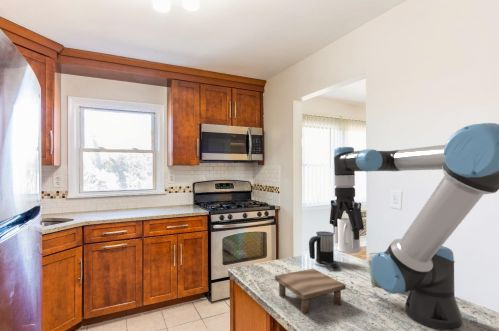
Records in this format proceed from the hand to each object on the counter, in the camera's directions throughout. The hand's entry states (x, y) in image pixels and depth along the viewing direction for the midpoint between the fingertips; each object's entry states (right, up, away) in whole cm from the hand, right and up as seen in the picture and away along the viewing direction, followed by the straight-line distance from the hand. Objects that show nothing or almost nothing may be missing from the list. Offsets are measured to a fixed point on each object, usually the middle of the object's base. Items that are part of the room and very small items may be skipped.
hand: (346, 245), depth 107 cm
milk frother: (+2, -19, +31) cm, 37 cm away
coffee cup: (+16, -18, +6) cm, 25 cm away
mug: (0, -2, -1) cm, 2 cm away
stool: (-16, -18, -6) cm, 25 cm away
